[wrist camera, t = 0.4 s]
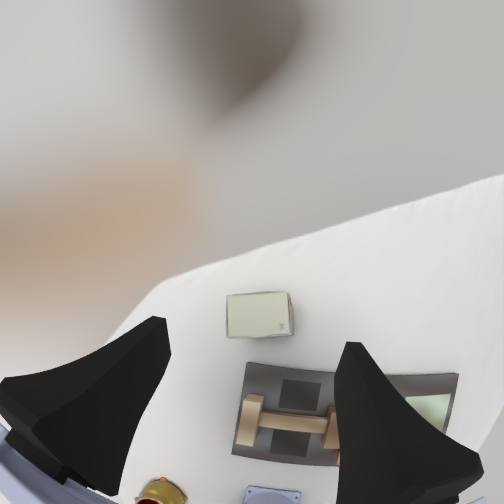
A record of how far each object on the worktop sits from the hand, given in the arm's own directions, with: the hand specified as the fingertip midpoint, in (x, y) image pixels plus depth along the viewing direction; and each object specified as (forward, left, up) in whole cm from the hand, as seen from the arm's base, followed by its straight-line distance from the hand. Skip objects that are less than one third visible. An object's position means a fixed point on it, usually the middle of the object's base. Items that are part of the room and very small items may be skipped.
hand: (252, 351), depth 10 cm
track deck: (-11, -12, -27) cm, 31 cm away
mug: (-33, +15, -27) cm, 45 cm away
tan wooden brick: (-11, -7, -25) cm, 28 cm away
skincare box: (+2, +2, -27) cm, 27 cm away
